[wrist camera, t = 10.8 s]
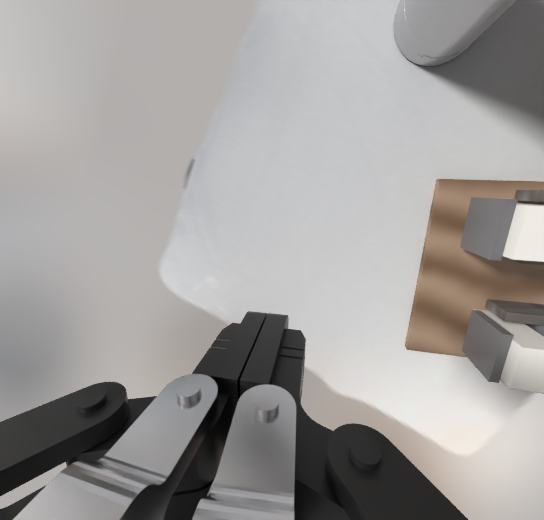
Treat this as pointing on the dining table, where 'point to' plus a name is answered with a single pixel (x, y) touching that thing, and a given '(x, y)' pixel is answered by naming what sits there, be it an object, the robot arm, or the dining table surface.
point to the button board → (470, 271)
